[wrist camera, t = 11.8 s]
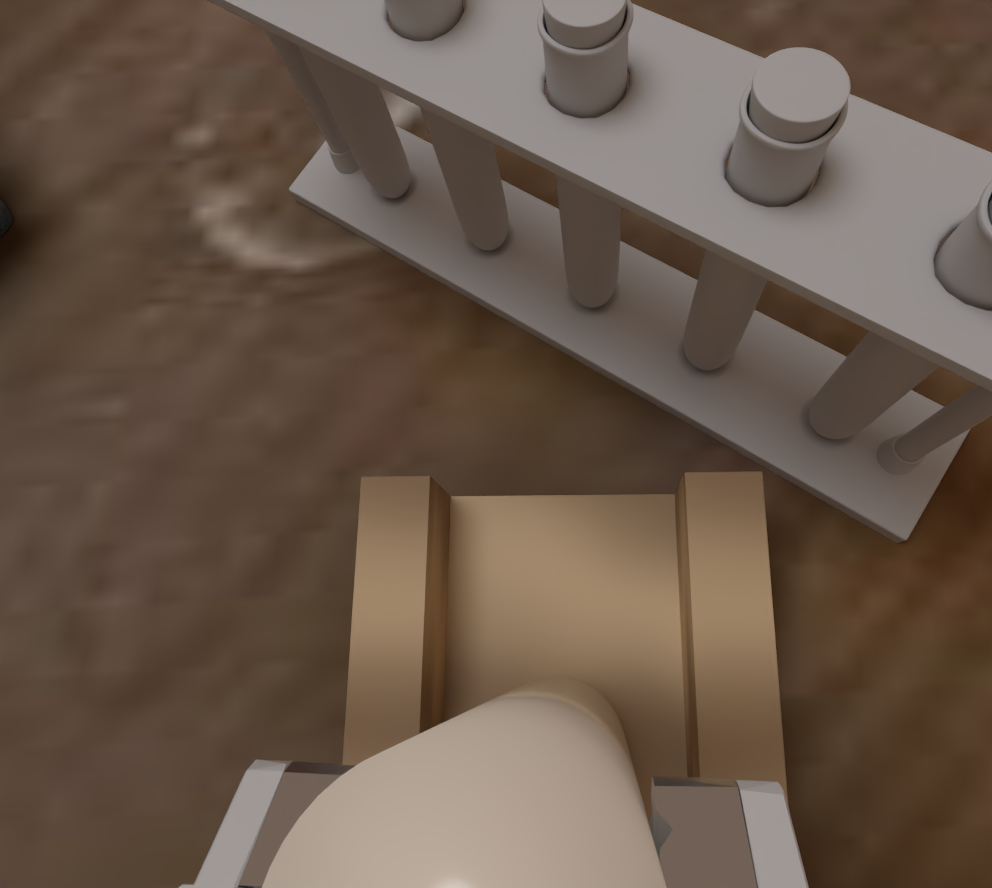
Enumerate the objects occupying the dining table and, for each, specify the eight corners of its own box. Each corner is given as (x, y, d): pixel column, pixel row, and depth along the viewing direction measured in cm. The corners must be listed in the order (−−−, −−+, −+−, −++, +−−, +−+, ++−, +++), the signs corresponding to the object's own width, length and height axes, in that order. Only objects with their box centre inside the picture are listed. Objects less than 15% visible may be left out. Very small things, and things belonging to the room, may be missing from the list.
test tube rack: (295, 200, 30) (64, -133, 17) (360, 116, 30) (184, -265, 17) (896, 545, 23) (1253, 423, 10) (963, 428, 24) (1375, 182, 11)
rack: (767, 1006, 20) (811, 1103, 16) (378, 974, 22) (323, 1055, 18) (733, 502, 24) (762, 471, 20) (402, 505, 25) (361, 476, 21)
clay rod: (583, 854, 19) (540, 1386, 5) (463, 771, 19) (161, 1044, 6) (651, 724, 19) (769, 901, 6) (532, 650, 20) (394, 655, 7)
